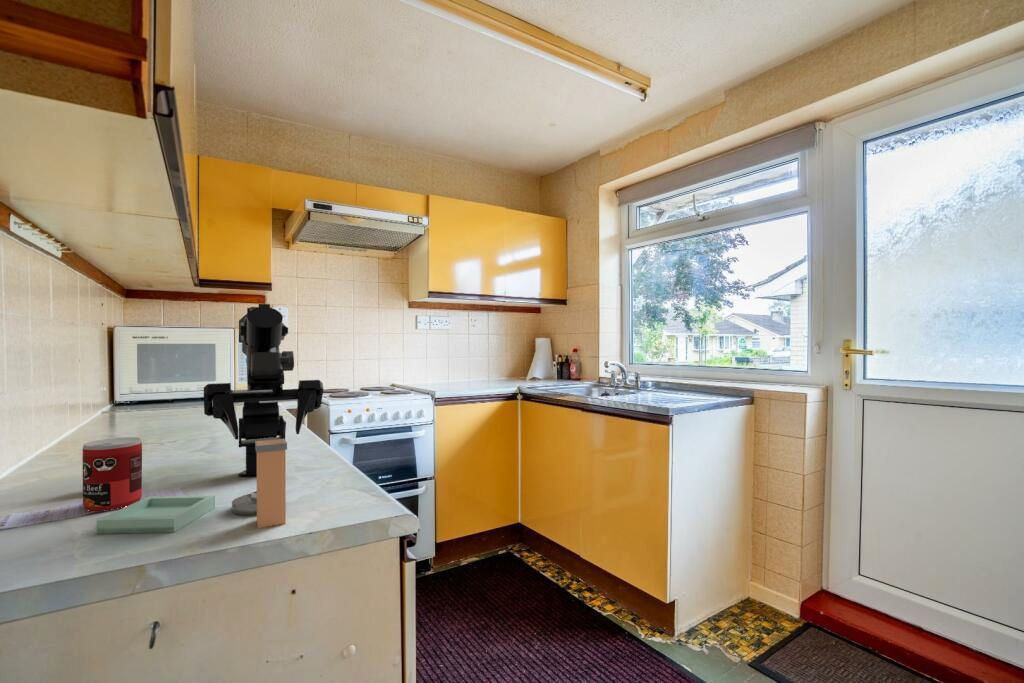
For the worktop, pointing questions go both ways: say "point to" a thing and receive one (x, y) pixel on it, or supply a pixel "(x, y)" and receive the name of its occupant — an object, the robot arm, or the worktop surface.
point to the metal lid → (245, 505)
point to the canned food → (112, 473)
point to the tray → (156, 515)
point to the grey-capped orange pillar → (271, 482)
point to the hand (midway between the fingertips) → (268, 435)
